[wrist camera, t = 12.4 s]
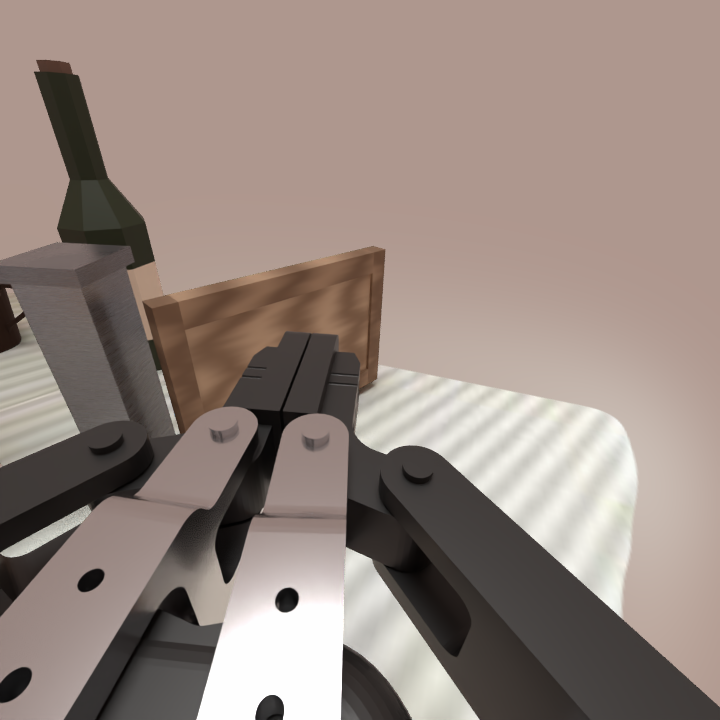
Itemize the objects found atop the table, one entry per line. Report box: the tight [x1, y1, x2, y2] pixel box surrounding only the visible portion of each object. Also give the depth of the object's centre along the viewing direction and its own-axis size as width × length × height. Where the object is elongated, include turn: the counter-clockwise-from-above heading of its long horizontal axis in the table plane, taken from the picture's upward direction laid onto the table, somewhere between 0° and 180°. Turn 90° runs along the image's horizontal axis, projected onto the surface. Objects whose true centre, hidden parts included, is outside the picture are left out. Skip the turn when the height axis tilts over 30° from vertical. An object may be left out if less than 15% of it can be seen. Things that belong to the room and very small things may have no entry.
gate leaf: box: [142, 246, 385, 434], centre depth 34 cm, size 22×2×15 cm, turn 135°
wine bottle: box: [34, 60, 164, 370], centre depth 40 cm, size 8×8×30 cm
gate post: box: [0, 242, 176, 439], centre depth 26 cm, size 5×5×19 cm
